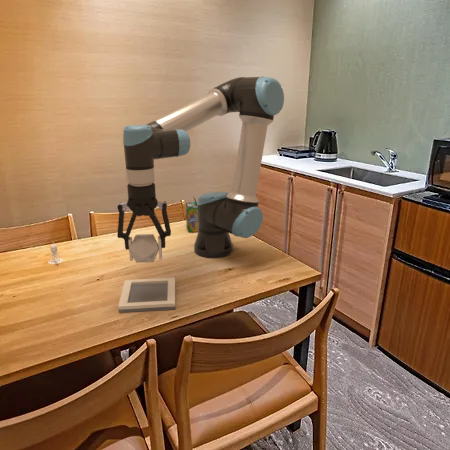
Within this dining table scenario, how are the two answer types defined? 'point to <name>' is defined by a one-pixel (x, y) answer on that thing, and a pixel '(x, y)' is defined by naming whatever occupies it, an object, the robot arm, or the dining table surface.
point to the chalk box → (192, 216)
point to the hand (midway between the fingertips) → (146, 258)
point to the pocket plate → (147, 295)
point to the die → (144, 248)
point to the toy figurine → (55, 259)
